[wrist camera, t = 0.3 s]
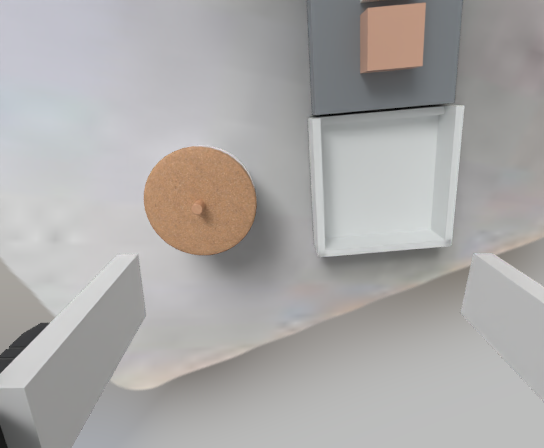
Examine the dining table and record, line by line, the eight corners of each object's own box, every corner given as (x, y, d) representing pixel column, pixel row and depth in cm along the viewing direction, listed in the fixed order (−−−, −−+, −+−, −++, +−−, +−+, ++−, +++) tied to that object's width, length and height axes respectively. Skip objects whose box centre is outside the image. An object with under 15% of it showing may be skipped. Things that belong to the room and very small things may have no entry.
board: (304, -51, 33) (308, -66, 30) (451, -65, 32) (469, -81, 30) (311, 114, 37) (315, 115, 35) (440, 103, 37) (454, 102, 35)
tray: (307, 117, 38) (312, 118, 34) (444, 105, 37) (464, 105, 34) (313, 244, 42) (318, 257, 39) (434, 233, 42) (451, 245, 39)
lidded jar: (212, 118, 37) (196, 122, 29) (276, 190, 40) (280, 213, 31) (146, 182, 40) (111, 204, 31) (211, 246, 42) (197, 283, 33)
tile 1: (360, 15, 32) (367, 7, 29) (413, 10, 32) (425, 2, 29) (360, 73, 33) (367, 71, 31) (411, 68, 33) (422, 66, 31)
